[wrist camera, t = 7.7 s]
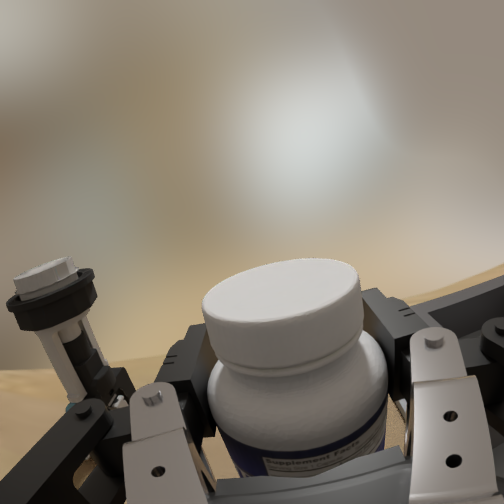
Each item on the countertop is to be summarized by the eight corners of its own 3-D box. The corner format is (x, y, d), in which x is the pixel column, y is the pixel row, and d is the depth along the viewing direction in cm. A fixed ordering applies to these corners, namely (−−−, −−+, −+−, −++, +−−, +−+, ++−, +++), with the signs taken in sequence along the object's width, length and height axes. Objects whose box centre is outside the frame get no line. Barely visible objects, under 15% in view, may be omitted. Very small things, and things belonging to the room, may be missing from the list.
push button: (126, 470, 12) (26, 286, 10) (53, 458, 12) (-35, 301, 10) (160, 394, 18) (104, 244, 16) (96, 395, 19) (39, 262, 17)
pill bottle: (244, 456, 12) (183, 277, 10) (353, 424, 13) (335, 239, 11) (261, 550, 7) (162, 363, 5) (402, 504, 8) (431, 285, 6)
